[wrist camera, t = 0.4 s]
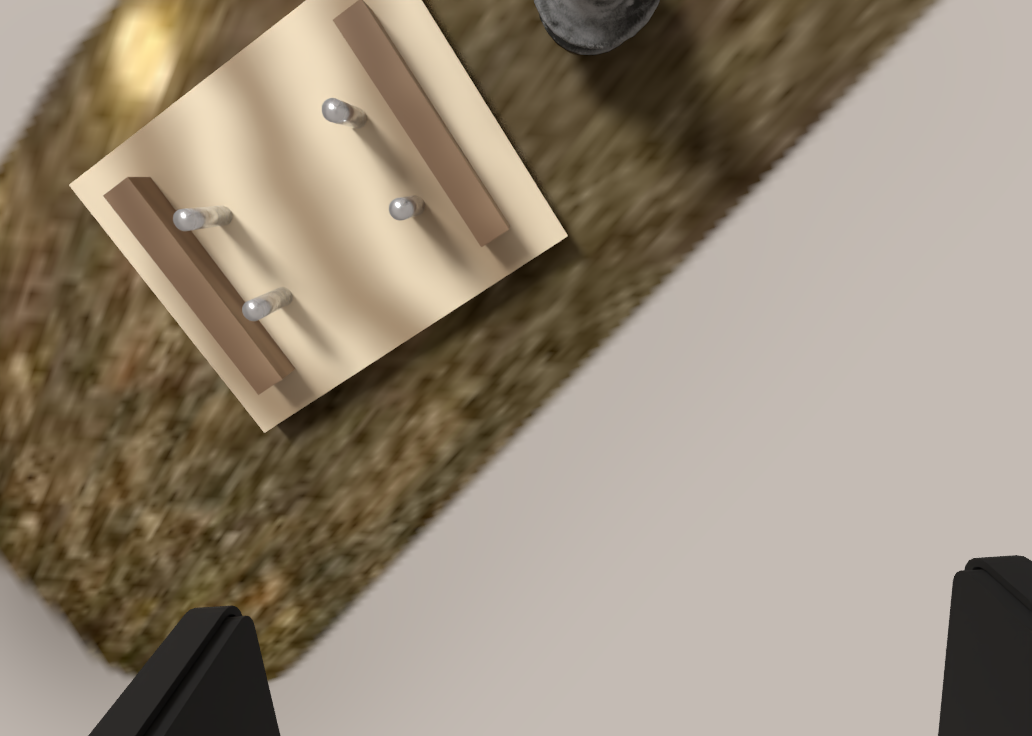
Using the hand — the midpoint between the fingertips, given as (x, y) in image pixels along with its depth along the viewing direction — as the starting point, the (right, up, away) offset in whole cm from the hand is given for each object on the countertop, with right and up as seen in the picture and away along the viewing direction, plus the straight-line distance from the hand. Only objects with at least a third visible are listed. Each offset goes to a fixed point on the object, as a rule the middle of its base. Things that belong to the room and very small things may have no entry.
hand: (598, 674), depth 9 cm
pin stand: (-11, +13, +27) cm, 32 cm away
